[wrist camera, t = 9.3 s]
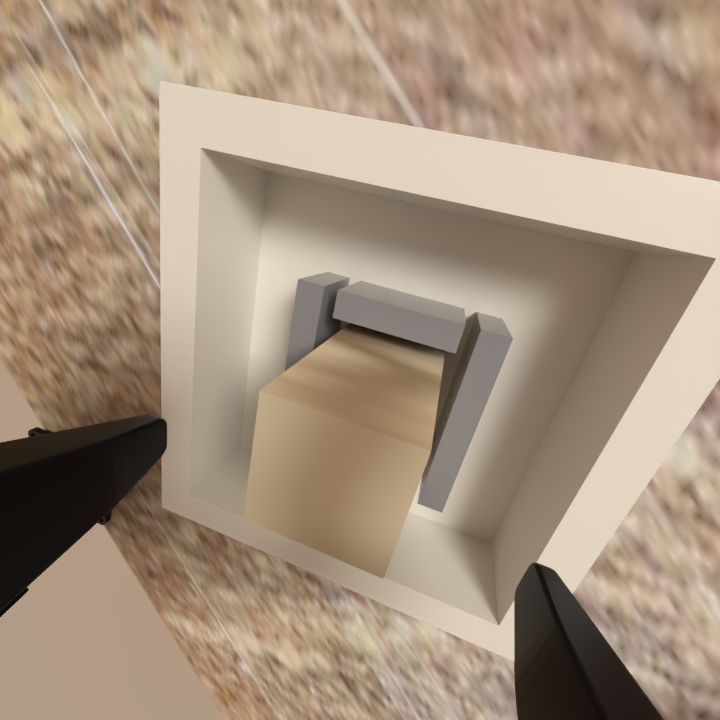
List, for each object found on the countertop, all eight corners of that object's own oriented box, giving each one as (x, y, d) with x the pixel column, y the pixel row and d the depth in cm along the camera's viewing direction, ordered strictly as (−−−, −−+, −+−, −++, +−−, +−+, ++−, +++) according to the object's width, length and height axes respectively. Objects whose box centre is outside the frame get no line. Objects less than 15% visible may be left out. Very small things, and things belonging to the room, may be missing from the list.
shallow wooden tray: (226, 449, 21) (161, 507, 17) (252, 130, 15) (159, 80, 10) (507, 559, 18) (523, 665, 14) (692, 217, 12) (839, 202, 7)
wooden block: (338, 396, 17) (243, 518, 9) (356, 318, 15) (259, 390, 8) (418, 424, 16) (383, 579, 9) (446, 345, 14) (430, 451, 7)
